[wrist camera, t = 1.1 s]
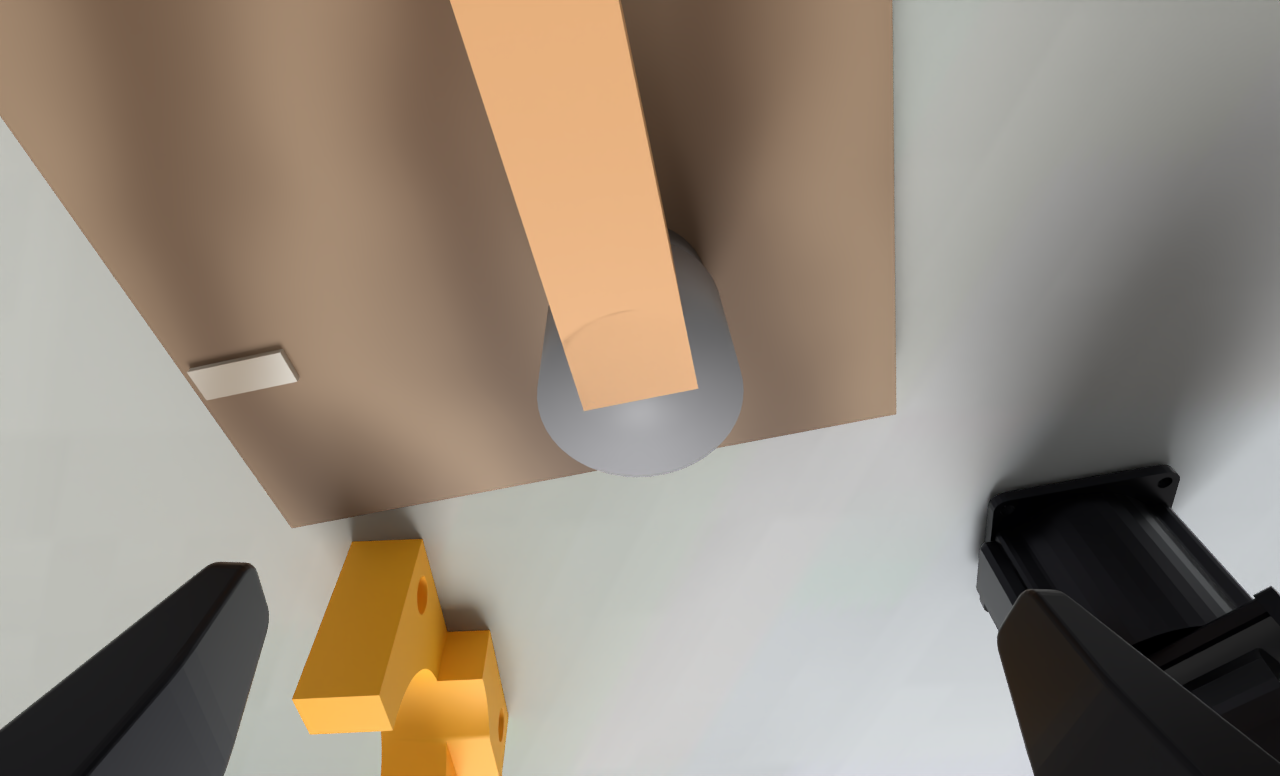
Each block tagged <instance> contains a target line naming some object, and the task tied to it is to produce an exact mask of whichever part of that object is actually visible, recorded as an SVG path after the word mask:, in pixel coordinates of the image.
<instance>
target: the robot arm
mask: <svg viewBox="0 0 1280 776" xmlns="http://www.w3.org/2000/svg"><path fill="white" fill-rule="evenodd" d="M1179 481H1180V476H1179V475H1178V474H1177V473H1176V472H1175V471H1174V470H1173V469H1172V468H1171V466H1168V465H1158V466H1152V467H1147V468H1141V469H1135V470H1130V471H1124V472H1118V473H1113V474H1107V475H1101V476H1096V477H1090V478H1084V479H1079V480H1073V481H1067V482H1062V483H1056V484H1050V485H1045V486H1039V487H1034V488H1028V489H1022V490H1017V491H1011V492H1005V493H1001V494H998V495H996V496H995V497H993V498H992V499H991V500H990V502H989V505H988V515H987V526H986V537H985V542H984V543H983V544H982V546H981V548H980V552H979V563H978V575H977V586H976V588H977V591H978V593H979V595H980V602H981V604H982V606H983V608H984V610H986V611H987V612H989V614H990V616H991V617H992V619H993V621H994V623H995V625H996V627H997V629H998V636H997V645H998V651H999V655H1000V658H1001V662H1002V665H1003V669H1004V673H1005V676H1006V680H1007V683H1008V687H1009V690H1010V694H1011V697H1012V701H1013V704H1014V708H1015V711H1016V715H1017V719H1018V722H1019V726H1020V729H1021V733H1022V736H1023V740H1024V743H1025V747H1026V751H1027V754H1028V757H1029V760H1030V763H1031V767H1032V770H1033V773H1034V776H1280V593H1278V592H1277V591H1276V590H1275V589H1274V588H1273V587H1272V586H1270V587H1268V588H1266V589H1264V590H1262V591H1260V592H1259V593H1257V594H1255V595H1253V596H1254V597H1255V599H1253V598H1252V597H1251V596H1250V595H1249V594H1248V593H1247V592H1246V591H1245V590H1244V588H1243V587H1242V586H1241V585H1240V584H1239V583H1238V582H1237V581H1236V580H1235V579H1234V577H1233V576H1232V575H1231V574H1230V573H1229V572H1228V571H1227V570H1226V569H1225V567H1224V566H1223V565H1222V564H1221V563H1220V562H1219V561H1218V560H1217V559H1216V558H1215V556H1214V555H1213V554H1212V553H1211V552H1210V551H1209V550H1208V549H1207V548H1206V546H1205V545H1204V544H1203V543H1202V542H1201V541H1200V540H1199V539H1198V538H1197V537H1196V535H1195V534H1194V533H1193V532H1192V531H1191V530H1190V529H1189V528H1188V527H1187V525H1186V524H1185V523H1184V522H1183V521H1182V520H1181V519H1180V518H1179V517H1178V516H1177V514H1176V513H1175V512H1174V511H1173V510H1172V509H1171V507H1172V504H1173V501H1174V497H1175V494H1176V491H1177V487H1178V484H1179ZM1004 506H1005V507H1004ZM268 623H269V611H268V606H267V603H266V600H265V596H264V593H263V590H262V586H261V583H260V580H259V577H258V573H257V571H256V569H255V567H254V566H253V565H251V564H250V563H241V562H215V563H212V564H210V565H208V566H206V567H205V568H203V569H202V570H201V571H200V572H198V573H197V574H196V575H195V576H193V577H192V578H191V579H190V580H188V581H187V582H186V583H185V584H183V585H182V586H181V587H180V588H178V589H177V590H176V591H174V592H173V593H172V594H171V595H169V596H168V597H167V598H166V599H164V600H163V601H162V602H161V603H159V604H158V605H157V606H156V607H154V608H153V609H152V610H151V611H149V612H148V613H147V614H145V615H144V616H143V617H142V618H140V619H139V620H138V621H137V622H135V623H134V624H133V625H132V626H130V627H129V628H128V629H127V630H125V631H124V632H123V633H122V634H120V635H119V636H118V637H116V638H115V639H114V640H113V641H111V642H110V643H109V644H108V645H106V646H105V647H104V648H103V649H101V650H100V651H99V652H98V653H96V654H95V655H94V656H93V657H91V658H90V659H89V660H87V661H86V662H85V663H84V664H82V665H81V666H80V667H79V668H77V669H76V670H75V671H74V672H72V673H71V674H70V675H69V676H67V677H66V678H65V679H64V680H62V681H61V682H60V683H58V684H57V685H56V686H55V687H53V688H52V689H51V690H50V691H48V692H47V693H46V694H45V695H43V696H42V697H41V698H40V699H38V700H37V701H36V702H35V703H33V704H32V705H31V706H29V707H28V708H27V709H26V710H24V711H23V712H22V713H21V714H19V715H18V716H17V717H16V718H14V719H13V720H12V721H11V722H9V723H8V724H7V725H6V726H4V727H3V728H2V729H0V776H224V773H225V771H226V768H227V765H228V762H229V759H230V756H231V753H232V749H233V746H234V743H235V740H236V736H237V733H238V729H239V726H240V722H241V719H242V716H243V712H244V709H245V705H246V702H247V698H248V695H249V691H250V688H251V685H252V681H253V678H254V674H255V671H256V667H257V664H258V660H259V657H260V654H261V650H262V647H263V643H264V640H265V636H266V633H267V629H268Z"/></svg>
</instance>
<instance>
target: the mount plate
mask: <svg viewBox="0 0 1280 776" xmlns="http://www.w3.org/2000/svg"><path fill="white" fill-rule="evenodd" d="M621 4H622V9H623V14H624V18H625V23H626V28H627V33H628V38H629V43H630V48H631V53H632V58H633V63H634V67H635V72H636V77H637V82H638V87H639V92H640V97H641V102H642V107H643V112H644V117H645V121H646V126H647V131H648V136H649V141H650V146H651V151H652V156H653V161H654V166H655V170H656V175H657V180H658V185H659V190H660V195H661V200H662V205H663V210H664V215H665V219H666V224H667V229H668V234H669V239H670V244H673V245H675V246H677V247H679V248H681V249H683V250H685V251H687V252H688V253H689V254H691V255H692V256H694V257H695V258H696V259H697V260H698V261H699V262H700V263H701V264H703V266H704V267H705V268H706V269H707V271H708V272H709V273H710V275H711V277H712V278H713V280H714V282H715V284H716V286H717V289H718V291H719V295H720V298H721V302H722V306H723V309H724V313H725V316H726V320H727V324H728V327H729V331H730V334H731V338H732V342H733V345H734V349H735V353H736V356H737V360H738V363H739V367H740V371H741V375H742V379H743V390H744V392H743V403H742V407H741V411H740V414H739V416H738V419H737V421H736V423H735V425H734V427H733V428H732V430H731V432H730V433H729V435H728V436H727V437H726V438H725V440H724V441H723V442H722V443H721V444H720V445H719V446H718V447H717V448H719V447H725V446H730V445H735V444H741V443H746V442H751V441H756V440H762V439H767V438H772V437H778V436H783V435H788V434H794V433H799V432H804V431H809V430H815V429H820V428H825V427H831V426H836V425H841V424H847V423H852V422H857V421H862V420H868V419H873V418H878V417H884V416H889V415H894V414H896V340H895V235H894V130H893V24H892V0H621ZM0 116H1V118H2V119H3V120H4V122H5V123H6V125H7V126H8V127H9V129H10V130H11V132H12V133H13V135H14V136H15V137H16V139H17V140H18V142H19V143H20V144H21V146H22V147H23V149H24V150H25V152H26V153H27V154H28V156H29V157H30V159H31V160H32V161H33V163H34V164H35V166H36V167H37V169H38V170H39V171H40V173H41V174H42V176H43V177H44V178H45V180H46V181H47V183H48V184H49V185H50V187H51V188H52V190H53V191H54V193H55V194H56V195H57V197H58V198H59V200H60V201H61V202H62V204H63V205H64V207H65V208H66V210H67V211H68V212H69V214H70V215H71V217H72V218H73V219H74V221H75V222H76V224H77V225H78V226H79V228H80V229H81V231H82V232H83V234H84V235H85V236H86V238H87V239H88V241H89V242H90V243H91V245H92V246H93V248H94V249H95V251H96V252H97V253H98V255H99V256H100V258H101V259H102V260H103V262H104V263H105V265H106V266H107V268H108V269H109V270H110V272H111V273H112V275H113V276H114V277H115V279H116V280H117V282H118V283H119V284H120V286H121V287H122V289H123V290H124V292H125V293H126V294H127V296H128V297H129V299H130V300H131V301H132V303H133V304H134V306H135V307H136V309H137V310H138V311H139V313H140V314H141V316H142V317H143V318H144V320H145V321H146V323H147V324H148V326H149V327H150V328H151V330H152V331H153V333H154V334H155V335H156V337H157V338H158V340H159V341H160V342H161V344H162V345H163V347H164V348H165V350H166V351H167V352H168V354H169V355H170V357H171V358H172V359H173V361H174V362H175V364H176V365H177V367H178V368H179V369H180V371H181V372H182V374H183V375H184V376H185V378H186V379H187V381H188V382H189V383H190V385H191V386H192V388H193V389H194V391H195V392H196V393H197V395H198V396H199V398H200V399H201V400H202V402H203V403H204V405H205V406H206V408H207V409H208V410H209V412H210V413H211V415H212V416H213V417H214V419H215V420H216V422H217V423H218V425H219V426H220V427H221V429H222V430H223V432H224V433H225V434H226V436H227V437H228V439H229V440H230V441H231V443H232V444H233V446H234V447H235V449H236V450H237V451H238V453H239V454H240V456H241V457H242V458H243V460H244V461H245V463H246V464H247V466H248V467H249V468H250V470H251V471H252V473H253V474H254V475H255V477H256V478H257V480H258V481H259V483H260V484H261V485H262V487H263V488H264V490H265V491H266V492H267V494H268V495H269V497H270V498H271V499H272V501H273V502H274V504H275V505H276V507H277V508H278V509H279V511H280V512H281V514H282V515H283V516H284V518H285V519H286V521H287V522H288V524H289V525H290V526H291V528H296V527H301V526H306V525H312V524H317V523H322V522H327V521H333V520H338V519H343V518H349V517H354V516H359V515H364V514H370V513H375V512H380V511H386V510H391V509H396V508H402V507H407V506H412V505H417V504H423V503H428V502H433V501H439V500H444V499H449V498H455V497H460V496H465V495H470V494H476V493H481V492H486V491H492V490H497V489H502V488H508V487H513V486H518V485H523V484H529V483H534V482H539V481H545V480H550V479H555V478H560V477H566V476H571V475H576V474H582V473H587V472H592V471H598V470H595V469H593V468H590V467H588V466H586V465H584V464H582V463H580V462H578V461H576V460H575V459H574V458H572V457H571V456H569V455H568V454H567V453H565V452H564V451H563V450H562V449H561V448H560V447H559V446H558V445H557V444H556V443H555V442H554V440H553V439H552V438H551V436H550V435H549V433H548V432H547V430H546V429H545V426H544V424H543V422H542V420H541V417H540V413H539V410H538V402H537V387H538V379H539V372H540V365H541V357H542V350H543V343H544V335H545V328H546V320H547V313H548V306H549V303H548V300H547V296H546V293H545V290H544V287H543V284H542V281H541V278H540V275H539V272H538V269H537V266H536V263H535V260H534V257H533V254H532V250H531V247H530V244H529V241H528V238H527V235H526V232H525V229H524V226H523V223H522V220H521V217H520V214H519V211H518V208H517V205H516V201H515V198H514V195H513V192H512V189H511V186H510V183H509V180H508V177H507V174H506V171H505V168H504V165H503V162H502V159H501V156H500V152H499V149H498V146H497V143H496V140H495V137H494V134H493V131H492V128H491V125H490V122H489V119H488V116H487V113H486V110H485V107H484V103H483V100H482V97H481V94H480V91H479V88H478V85H477V82H476V79H475V76H474V73H473V70H472V67H471V64H470V61H469V57H468V54H467V51H466V48H465V45H464V42H463V39H462V36H461V33H460V30H459V27H458V24H457V21H456V18H455V15H454V12H453V8H452V5H451V2H450V0H0Z"/></svg>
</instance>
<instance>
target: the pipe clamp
mask: <svg viewBox="0 0 1280 776" xmlns="http://www.w3.org/2000/svg"><path fill="white" fill-rule="evenodd" d="M292 700H293V702H294V704H295V706H296V708H297V710H298V712H299V714H300V716H301V718H302V720H303V722H304V724H305V726H306V728H307V729H308V731H309V733H310V734H330V733H351V732H372V731H381V738H382V766H381V776H502V768H503V759H504V751H505V742H506V733H507V724H508V712H507V707H506V703H505V698H504V694H503V689H502V684H501V680H500V675H499V670H498V666H497V661H496V656H495V652H494V647H493V642H492V638H491V633H490V630H480V631H456V632H447V628H446V624H445V621H444V617H443V613H442V610H441V606H440V602H439V598H438V595H437V591H436V587H435V584H434V580H433V576H432V572H431V569H430V565H429V561H428V558H427V554H426V550H425V547H424V543H423V539H407V540H381V541H355V542H352V544H351V546H350V549H349V551H348V554H347V557H346V559H345V562H344V565H343V567H342V570H341V572H340V575H339V578H338V580H337V583H336V586H335V588H334V591H333V593H332V596H331V599H330V601H329V604H328V606H327V609H326V612H325V614H324V617H323V620H322V622H321V625H320V627H319V630H318V633H317V635H316V638H315V641H314V643H313V646H312V648H311V651H310V654H309V656H308V659H307V661H306V664H305V667H304V669H303V672H302V675H301V677H300V680H299V682H298V685H297V688H296V690H295V693H294V695H293V698H292Z"/></svg>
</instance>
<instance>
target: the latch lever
mask: <svg viewBox="0 0 1280 776" xmlns="http://www.w3.org/2000/svg"><path fill="white" fill-rule="evenodd" d="M450 2H451V5H452V8H453V12H454V15H455V18H456V21H457V24H458V27H459V30H460V33H461V36H462V39H463V42H464V45H465V48H466V51H467V54H468V57H469V61H470V64H471V67H472V70H473V73H474V76H475V79H476V82H477V85H478V88H479V91H480V94H481V97H482V100H483V103H484V107H485V110H486V113H487V116H488V119H489V122H490V125H491V128H492V131H493V134H494V137H495V140H496V143H497V146H498V149H499V152H500V156H501V159H502V162H503V165H504V168H505V171H506V174H507V177H508V180H509V183H510V186H511V189H512V192H513V195H514V198H515V201H516V205H517V208H518V211H519V214H520V217H521V220H522V223H523V226H524V229H525V232H526V235H527V238H528V241H529V244H530V247H531V250H532V254H533V257H534V260H535V263H536V266H537V269H538V272H539V275H540V278H541V281H542V284H543V287H544V290H545V293H546V296H547V300H548V303H549V306H548V313H547V320H546V328H545V335H544V343H543V350H542V357H541V365H540V372H539V379H538V387H537V402H538V410H539V413H540V417H541V420H542V422H543V424H544V426H545V429H546V430H547V432H548V433H549V435H550V436H551V438H552V439H553V440H554V442H555V443H556V444H557V445H558V446H559V447H560V448H561V449H562V450H563V451H564V452H565V453H567V454H568V455H569V456H571V457H572V458H574V459H575V460H576V461H578V462H580V463H582V464H584V465H586V466H588V467H590V468H593V469H595V470H598V471H601V472H604V473H608V474H612V475H618V476H627V477H649V476H656V475H662V474H667V473H671V472H674V471H677V470H680V469H683V468H685V467H688V466H690V465H692V464H694V463H696V462H698V461H699V460H701V459H703V458H704V457H706V456H707V455H708V454H710V453H711V452H712V451H714V450H715V449H716V448H717V447H718V446H719V445H720V444H721V443H722V442H723V441H724V440H725V438H726V437H727V436H728V435H729V433H730V432H731V430H732V428H733V427H734V425H735V423H736V421H737V419H738V416H739V414H740V411H741V407H742V403H743V392H744V390H743V379H742V375H741V371H740V367H739V363H738V360H737V356H736V353H735V349H734V345H733V342H732V338H731V334H730V331H729V327H728V324H727V320H726V316H725V313H724V309H723V306H722V302H721V298H720V295H719V291H718V289H717V286H716V284H715V282H714V280H713V278H712V277H711V275H710V273H709V272H708V271H707V269H706V268H705V267H704V266H703V264H701V263H700V262H699V261H698V260H697V259H696V258H695V257H694V256H692V255H691V254H689V253H688V252H687V251H685V250H683V249H681V248H679V247H677V246H675V245H673V244H670V239H669V234H668V229H667V224H666V219H665V215H664V210H663V205H662V200H661V195H660V190H659V185H658V180H657V175H656V170H655V166H654V161H653V156H652V151H651V146H650V141H649V136H648V131H647V126H646V121H645V117H644V112H643V107H642V102H641V97H640V92H639V87H638V82H637V77H636V72H635V67H634V63H633V58H632V53H631V48H630V43H629V38H628V33H627V28H626V23H625V18H624V14H623V9H622V4H621V0H450Z"/></svg>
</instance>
